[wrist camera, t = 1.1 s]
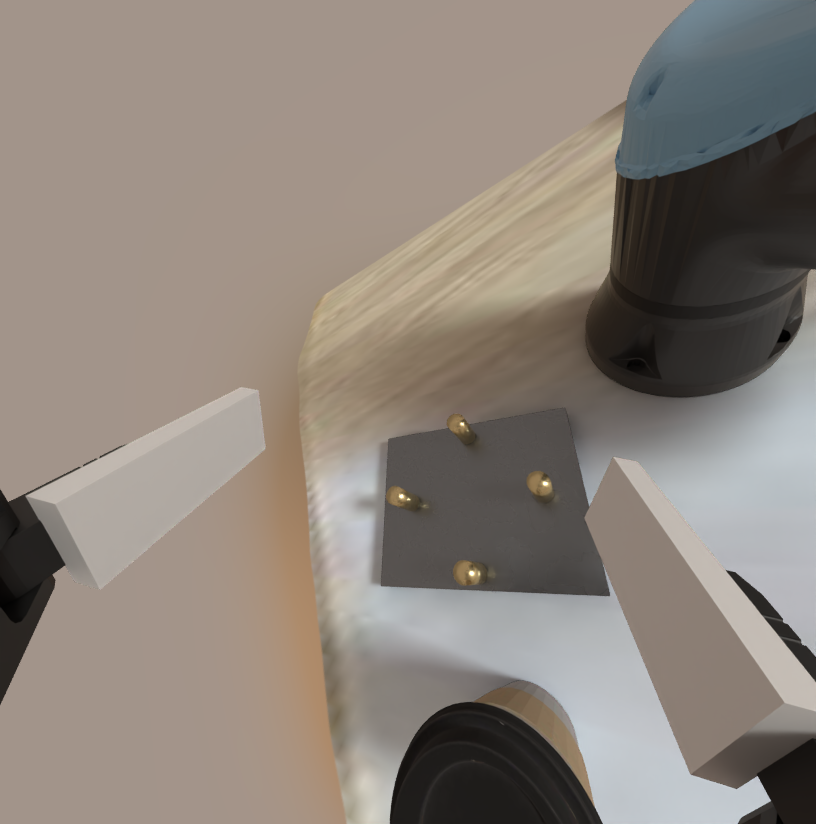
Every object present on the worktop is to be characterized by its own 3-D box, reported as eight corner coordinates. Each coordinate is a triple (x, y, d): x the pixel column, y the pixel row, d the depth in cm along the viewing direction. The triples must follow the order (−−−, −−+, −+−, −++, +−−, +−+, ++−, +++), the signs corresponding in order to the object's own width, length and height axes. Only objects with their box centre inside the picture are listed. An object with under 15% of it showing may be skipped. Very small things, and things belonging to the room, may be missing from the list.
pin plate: (565, 413, 32) (563, 388, 27) (609, 595, 25) (614, 599, 20) (394, 442, 40) (371, 426, 36) (388, 585, 33) (358, 587, 28)
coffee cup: (472, 794, 23) (355, 1020, 11) (471, 640, 27) (385, 690, 15) (622, 857, 19) (685, 1315, 7) (596, 666, 23) (608, 760, 11)
